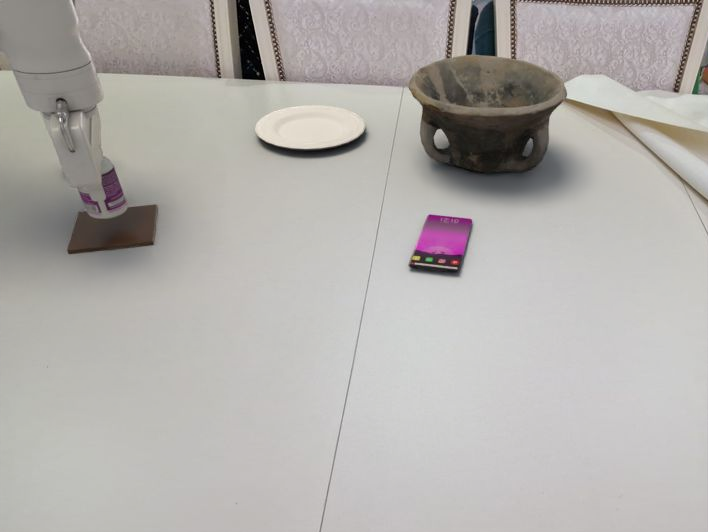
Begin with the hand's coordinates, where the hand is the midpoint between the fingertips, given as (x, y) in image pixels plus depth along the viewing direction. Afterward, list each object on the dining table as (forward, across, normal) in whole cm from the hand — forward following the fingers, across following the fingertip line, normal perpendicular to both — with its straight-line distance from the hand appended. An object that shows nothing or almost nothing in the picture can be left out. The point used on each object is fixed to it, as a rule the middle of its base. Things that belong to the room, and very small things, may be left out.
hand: (99, 187), depth 86 cm
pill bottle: (+4, 0, 0) cm, 4 cm away
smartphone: (+7, -20, -44) cm, 49 cm away
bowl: (+7, +4, -62) cm, 62 cm away
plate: (+7, +25, -35) cm, 44 cm away
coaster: (+7, 0, 0) cm, 7 cm away
